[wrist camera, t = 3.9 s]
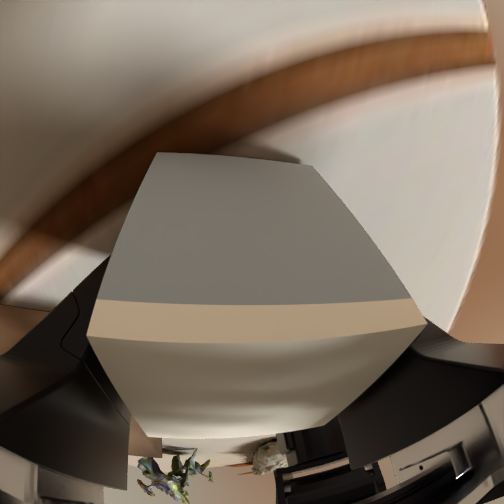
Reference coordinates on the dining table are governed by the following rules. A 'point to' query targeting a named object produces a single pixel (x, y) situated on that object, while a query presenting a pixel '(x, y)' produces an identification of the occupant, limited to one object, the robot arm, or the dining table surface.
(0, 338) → the walnut step
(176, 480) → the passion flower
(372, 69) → the dining table surface
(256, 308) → the grey block
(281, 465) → the elongated rock
